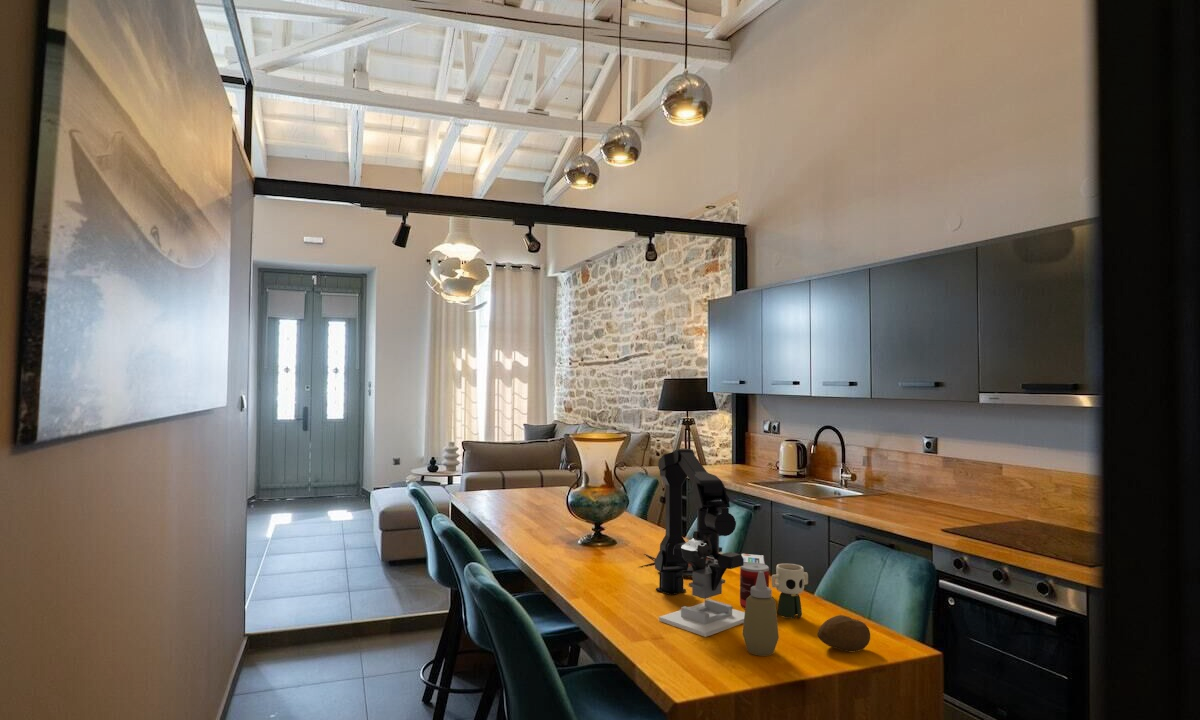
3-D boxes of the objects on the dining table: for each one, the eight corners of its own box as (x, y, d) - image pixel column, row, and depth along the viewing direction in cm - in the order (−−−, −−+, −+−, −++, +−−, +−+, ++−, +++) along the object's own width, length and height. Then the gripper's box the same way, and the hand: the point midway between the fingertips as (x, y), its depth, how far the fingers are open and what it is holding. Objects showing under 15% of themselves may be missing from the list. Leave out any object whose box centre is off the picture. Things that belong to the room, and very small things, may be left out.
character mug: (778, 622, 182) (779, 571, 182) (764, 614, 188) (764, 564, 189) (815, 619, 185) (815, 568, 185) (799, 610, 192) (800, 562, 192)
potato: (878, 654, 161) (878, 620, 162) (829, 658, 159) (829, 623, 159) (857, 641, 169) (857, 609, 170) (810, 645, 167) (810, 612, 167)
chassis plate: (658, 620, 181) (659, 607, 181) (707, 604, 195) (707, 592, 195) (705, 636, 170) (705, 622, 171) (753, 618, 184) (753, 605, 184)
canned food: (769, 603, 197) (770, 564, 198) (766, 612, 190) (767, 571, 190) (742, 600, 200) (742, 561, 200) (737, 609, 192) (738, 568, 193)
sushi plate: (695, 582, 219) (695, 570, 219) (611, 567, 235) (612, 555, 235) (730, 563, 244) (730, 551, 244) (652, 550, 259) (652, 540, 260)
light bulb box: (764, 602, 199) (765, 563, 199) (740, 600, 200) (740, 561, 200) (763, 591, 209) (764, 554, 210) (740, 589, 211) (741, 553, 211)
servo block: (688, 596, 181) (689, 568, 181) (712, 589, 188) (713, 562, 188) (700, 600, 178) (701, 572, 178) (725, 592, 185) (725, 565, 185)
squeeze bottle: (737, 645, 165) (739, 567, 166) (771, 645, 166) (772, 567, 167) (748, 659, 157) (749, 577, 158) (783, 658, 158) (784, 577, 159)
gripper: (660, 525, 185) (659, 586, 184) (718, 538, 171) (717, 603, 171) (687, 520, 192) (686, 578, 192) (745, 532, 179) (744, 594, 178)
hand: (707, 588), depth 183 cm, fingers closed on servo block, 4 cm apart
